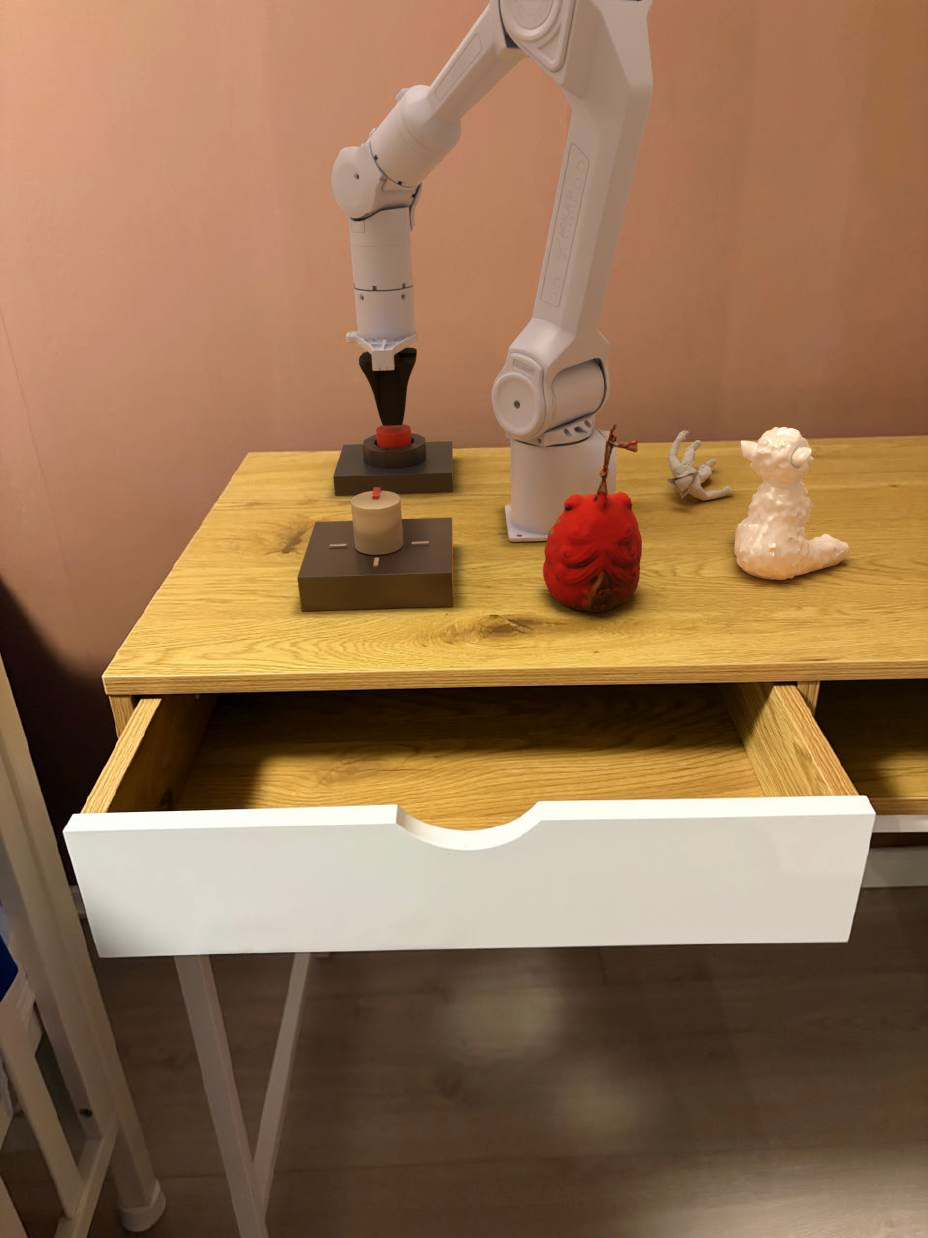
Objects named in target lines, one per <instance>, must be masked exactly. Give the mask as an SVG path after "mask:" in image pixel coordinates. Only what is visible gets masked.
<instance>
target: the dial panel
mask: <svg viewBox="0 0 928 1238" xmlns="http://www.w3.org/2000/svg"><path fill="white" fill-rule="evenodd" d="M402 528H403V546H402V547H401V548H400V549H399V550H397V551H395V552H392V553H389V554H383V555H369V554H364V553H361V552H359V551H358V550H356V548H355V542H354V531H353V521H352V520H333V521H331V520H329V521H315V522H314V525H313V528H312V532H311V534H310V537H309V540H308V543H307V547H306V549H305V553H304V556H303V559H302V562H301V564H300V568H299V571H298V574H297V578H296V579H297V587H298V594H299V595H298V596H299V601H300V610H301V612H316V611H319V612H321V611H349V610H350V611H351V610H352V611H353V610H380V609H381V610H384V609H385V610H386V609H416V608H443V607H445V608H446V607H448V608H449V607H454V536H453V535H454V532H453V517H427V518H424V517H423V518H422V517H421V518H420V517H419V518H402Z"/></svg>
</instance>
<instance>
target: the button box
mask: <svg viewBox="0 0 928 1238" xmlns="http://www.w3.org/2000/svg"><path fill="white" fill-rule="evenodd" d="M411 442H412V444H410V445H409V446H405V447H401V448H383V447H378V446H377V437H376V434H373V435H371V436H369V437H367V438H365V439H363V442H362V443H358V444H357V443H355V444H354V443H353V444H343V445H342V447H341V451H340V454H339V458H338V460H337V464H336V467H335V469H334V472H333V475H332V476H333V487H334V488H333V489H334V496H335V497H354V496H356V495H358V494H361V493H364V492H369V491H373V489H374V487H381V491H389V492H393V493H396V494H398V495H415V494H416V495H417V494H444V493H445V494H449V493H451V494H452V493H454V454H453V453H454V451H453V441H452V440H450V441H449V440H447V441H426V437H424V436H423V435H421V434H419V433H414V432H411Z"/></svg>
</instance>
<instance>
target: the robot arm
mask: <svg viewBox="0 0 928 1238" xmlns="http://www.w3.org/2000/svg"><path fill="white" fill-rule="evenodd" d="M654 1H655V0H489V1H488V4H487V5H486V7H485V8H484V10H483V11H482V12H481V14H480V16H478V18H477V20H476V21H475V22H474V24H473V25H472V27H471V28H470V29H469V31H468V32H467V34H465V37H464V38H463V39H462V40H461V42H460V44H459V45H458V46H457V48H456V49H455V51H454V52H453V54H452V55H451V56H450V58H449V59H448V61H447V62H446V63H445V65H444V66H443V68H442V69H441V70H440V72H439V73H438V75H437V76H436V78H435V79H434V80H433V81H432V83H431V84H430V85H425V84H416V85H413V86H411V87H405V88H401V90H400V91H399V92H398V94H397V95H396V96H395V101H396V104H395V106H394V107H393V108H392V109H391V110H390V112H389V113H388V114H387V115H386V116H385V118H384V119H383V121H381V123H380V124H379V125H378V126H377V127H374V128H373V129H372V130H371V131H370V132H369V133H368V139H367V140H366V142H365V143H360V145H359V146H345V147H344V148H343V147H342V149H340V151H339V152H338V156H337V157H336V159H335V161H334V163H333V166H332V170H331V189H332V194H333V197H334V200H335V202H336V204H337V206H338V208H339V209H340V210H341V212H342V213H343V214H344V215H345V216H347V221H348V233H349V234H348V235H349V244H350V257H351V269H352V281H353V282H352V284H353V292H354V306H355V317H356V329H357V331H347V333H346V334H345V342H346V343H347V344H357V345H358V346H360V347H361V348H362V349H364V350H365V351H363V352H362V353H361V355H359V357H358V365H359V368H360V370H361V371H362V373H363V375H364V376H365V378H366V380H367V381H368V384H369V386H370V388H371V391H372V393H373V399H374V401H375V406H376V410H377V413H378V416H379V419H380V423H381V426H382V425H383V426H394V425H402V424H404V420H405V413H406V405H407V393H408V385H409V381H410V377H411V375H412V372H413V370H414V367H415V364H416V362H417V355H418V350H417V348H415V347H410V346H412V345H413V344H415V343H417V341H418V340H419V332H418V330H417V329H416V312H415V295H414V294H415V293H414V279H413V275H414V274H413V260H412V259H413V258H412V239H411V238H412V237H411V236H412V235H411V232H413V229H414V226H416V224H415V223H416V222H415V221H416V220H415V211H416V207H417V205H418V203H419V202H420V199H421V196H422V190H423V181H425V179H426V178H427V177H428V176H429V175H430V174H431V173H432V172H433V171H434V169H436V167H437V166H438V165H440V163H441V162H442V161H443V160H444V159H445V158H446V157H447V156H448V154H450V152H451V151H452V150H453V149H454V148H455V147H456V146H457V145H458V143H459V142H460V140H461V136H462V118H463V117H464V116H465V115H466V114H467V113H469V111H470V110H471V109H473V108H474V106H476V105H477V104H478V103H479V102H480V101H481V100H482V99H483V98H484V97H485V96H486V95H487V94H489V92H490V91H491V90H492V89H494V87H495V86H496V85H497V84H498V83H500V81H502V80H503V78H504V77H506V76H507V75H508V74H509V72H511V71H512V70H513V69H514V68H515V67H516V66H517V65H519V63H520V62H521V61H523V60H524V59H527V58H530V60H532V61H533V62H534V63H535V64H536V65H537V66H538V67H539V68H541V69H542V70H543V72H545V73H546V74H547V75H548V76H549V77H550V78H551V79H552V80H553V81H554V82H555V83H556V84H557V86H558V88H559V89H560V91H561V93H562V94H563V96H564V97H565V100H566V101H567V103H568V104H569V106H570V108H571V115H570V120H569V126H568V131H567V137H566V141H565V146H564V151H563V156H562V162H561V167H560V172H559V178H558V183H557V188H556V193H555V198H554V203H553V208H552V213H551V218H550V223H549V229H548V232H547V233H548V234H547V237H546V238H547V239H546V244H545V249H544V254H543V260H542V265H541V270H540V275H539V281H538V285H537V291H536V296H535V301H534V306H533V311H532V316H531V319H530V320H529V321H528V323H527V324H526V325H525V327H524V328H523V330H522V331H521V332H520V333H519V334H518V335H517V337H516V338H515V339H514V341H512V343H511V344H510V345H509V347H508V351H507V355H506V360H505V363H504V365H503V368H502V370H501V371H500V372H499V373H498V374H497V376H496V377H495V379H494V382H493V384H492V388H491V406H492V410H493V414H494V416H495V418H496V421H497V422H498V424H499V426H500V427H501V428H502V430H504V432H505V438H507V439H509V443H510V444H509V445H510V451H509V452H510V504H506V505H505V506H504V514H505V515H504V516H505V523H506V530H507V538H508V541H509V542H511V543H523V542H525V543H526V542H547V538H548V533H549V530H550V529H551V528H552V527H553V526H554V524H555V522H556V521H557V519H558V517H559V516H560V515H561V514H562V513H563V512H564V510H565V507H564V503H565V501H566V500H567V499H568V498H569V497H570V496H571V495H573V494H578V495H586V494H596V492H597V489H598V487H599V484H600V481H601V477H600V475H599V467H601V466H602V465H604V453H605V445H606V439H605V438H604V437H603V436H602V435H601V434H600V433H599V431H598V429H593V428H595V426H596V416H597V414H598V413H599V412H600V411H601V410H602V409H603V408H604V406H605V405H606V404H607V401H608V399H609V397H610V392H611V391H610V390H611V379H610V373H609V359H610V354H611V349H612V344H611V343H610V342H609V341H608V340H607V338H606V337H605V336H604V334H603V333H602V332H601V331H600V330H599V329H598V328H599V324H600V320H601V315H602V311H603V307H604V302H605V298H606V295H607V290H608V286H609V282H610V278H611V273H612V270H613V265H614V261H615V257H616V253H617V248H618V244H619V240H620V236H621V232H622V227H623V223H624V219H625V215H626V211H627V207H628V202H629V198H630V195H631V190H632V185H633V181H634V177H635V173H636V169H637V165H638V162H639V161H638V160H639V156H640V152H641V148H642V144H643V140H644V136H645V131H646V127H647V123H648V118H649V115H650V110H651V106H652V103H653V102H652V101H653V96H654V77H653V68H652V58H651V47H650V38H649V29H648V26H649V22H650V19H651V14H652V9H653V4H654ZM600 430H601V431H602V432H603V433H604V435H605V436H607V437H608V436H609V431H610V430H605V429H600ZM608 469H609V471H608V476H607V478H606V484H607V491H608V494H615V493H616V485H617V447H614V448H613V449H612V453H611V456H610V461H609V465H608Z"/></svg>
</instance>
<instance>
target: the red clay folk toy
mask: <svg viewBox="0 0 928 1238" xmlns="http://www.w3.org/2000/svg"><path fill="white" fill-rule="evenodd" d="M617 428H618V425H617V424H616V423H614V424H612V425H611V426H610V429H609V430H608V431H609V436H608V437H607V436H605V435H604V433H603V432H602V431H601V430H602V429H600V428H599V429H597V430H598V431H599V433H600V434H601V435H602V436H603V437H604V438H605V439H606V445H605V453H604V465H602V466H601V467H599V475H600V477H601V481H600V484H599V487H598V489H597V492H596V494H586V495H578V494H573V495H571V496H570V497H569V498H568V499H567V500H566V501H565V503H564V507H565V510H564V512H563V513H562V514H561V515H560V516H559V517H558V519H557V521H556V522H555V524H554V526H553V527H552V528H551V529H550V530H549V533H548V538H547V541H545V545H544V551H543V552H544V553H543V554H544V558H545V559H544V562H543V565H542V577H543V581H544V583H545V585H546V588H547V591H548V592H549V595H550V596H551V597H552V598H553V599H554V600H556V601H557V602H559V603H560V604H561V605H562V606H565V607H567V608H569V609H572V610H576V611H580V612H589V613H603V612H608V611H610V610H612V609H613V610H614V609H616V608H618V607H620V606H621V605H622V604H624V603H625V602H626V601H628V600H629V599H630V598H631V596H633V595H634V593H635V591H636V590H637V588H638V587H639V582H640V577H641V576H640V574H641V559H642V556H643V555H642V554H643V553H642V552H643V540H642V535H641V531H640V528H639V522H638V520H637V516H636V515H635V514H634V511H633V503H632V499H631V497H630V496H629V495H628V494H627V493H625V492H623V491H617V492H615V494H608V491H607V484H606V478H607V476H608V471H609V469H608V465H609V461H610V456H611V453H612V449H613V448H614V447H616V449H624V450H626V451H630V452H633V453H637V452H638V451H639V447H638V446H639V444H638V443H639V442H638V441H639V440H638V439H635V440H632V441H630V442H625V441H617V436H616V434H614V432H615V430H616V429H617Z"/></svg>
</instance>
